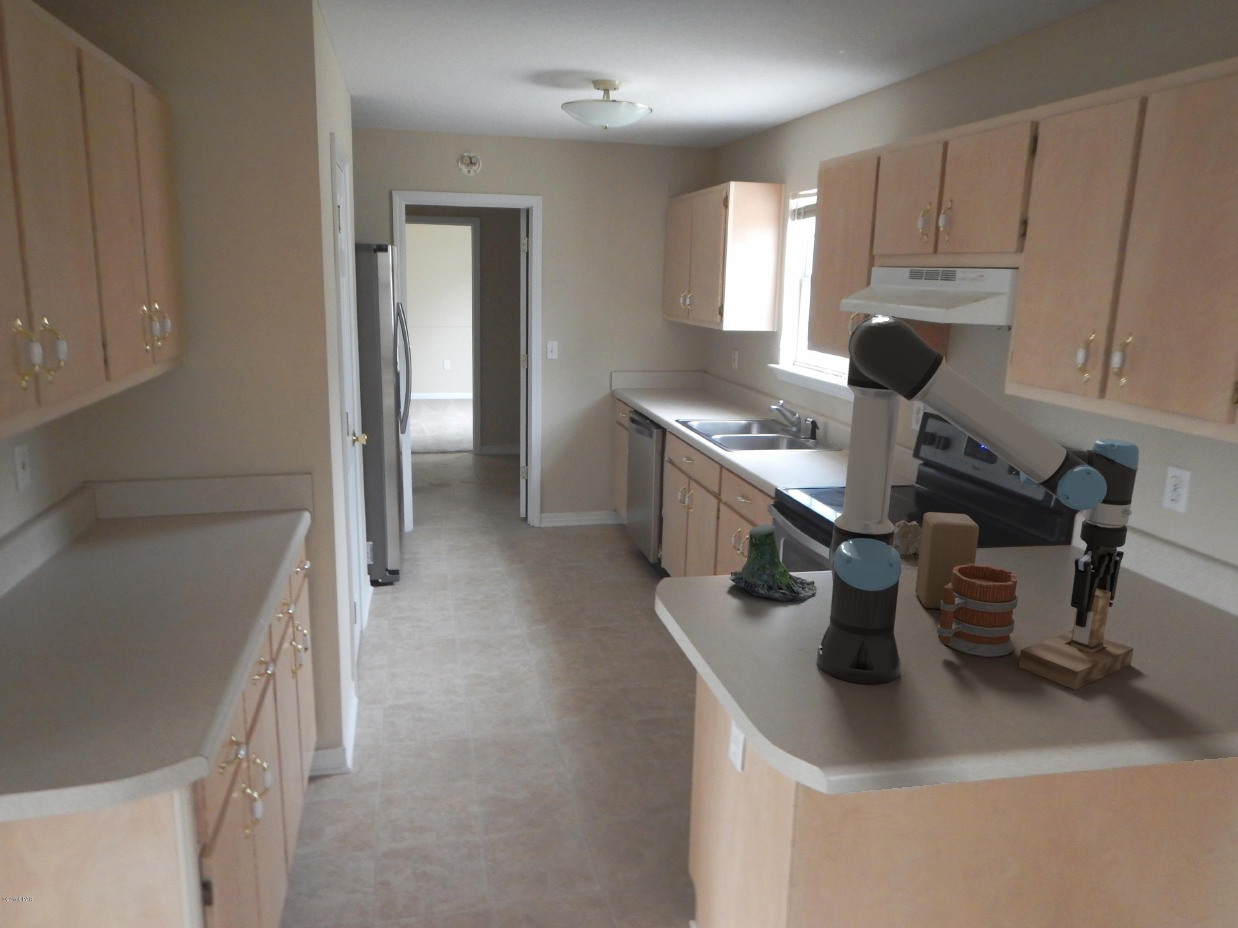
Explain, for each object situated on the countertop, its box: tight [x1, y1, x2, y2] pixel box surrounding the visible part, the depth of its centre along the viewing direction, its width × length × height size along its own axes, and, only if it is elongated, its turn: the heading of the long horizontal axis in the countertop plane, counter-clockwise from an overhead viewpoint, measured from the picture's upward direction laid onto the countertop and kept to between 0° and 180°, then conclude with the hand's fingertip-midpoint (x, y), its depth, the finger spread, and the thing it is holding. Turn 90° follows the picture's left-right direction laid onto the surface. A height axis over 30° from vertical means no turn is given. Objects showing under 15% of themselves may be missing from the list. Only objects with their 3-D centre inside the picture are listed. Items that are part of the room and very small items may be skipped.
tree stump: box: [729, 523, 817, 602], centre depth 205 cm, size 18×20×18 cm
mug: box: [936, 564, 1019, 658], centre depth 177 cm, size 14×19×15 cm
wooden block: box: [914, 511, 980, 610], centre depth 200 cm, size 10×10×20 cm
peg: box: [1071, 588, 1111, 654], centre depth 171 cm, size 4×4×14 cm
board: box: [1018, 630, 1134, 690], centre depth 171 cm, size 20×11×4 cm, turn 124°
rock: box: [893, 520, 922, 558], centre depth 233 cm, size 9×12×10 cm
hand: (1086, 638), depth 171 cm, fingers closed on peg, 4 cm apart
